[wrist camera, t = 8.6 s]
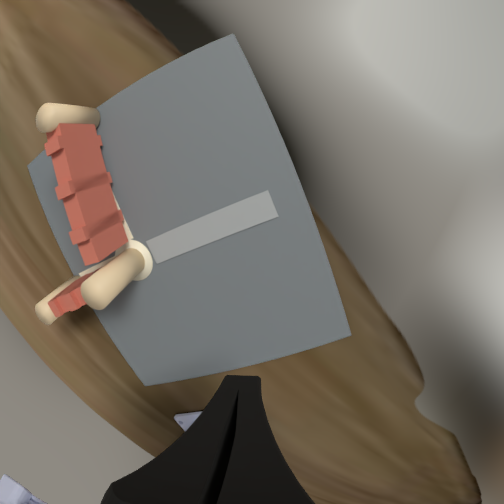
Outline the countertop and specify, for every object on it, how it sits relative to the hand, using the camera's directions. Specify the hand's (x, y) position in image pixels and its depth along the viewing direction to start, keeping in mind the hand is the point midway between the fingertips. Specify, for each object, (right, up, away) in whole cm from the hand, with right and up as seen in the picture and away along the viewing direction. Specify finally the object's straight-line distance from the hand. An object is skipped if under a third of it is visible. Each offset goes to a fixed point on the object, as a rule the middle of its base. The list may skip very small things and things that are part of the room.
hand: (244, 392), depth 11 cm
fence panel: (-10, +11, +7) cm, 17 cm away
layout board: (-5, +6, +9) cm, 12 cm away
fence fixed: (-11, +4, +11) cm, 16 cm away
